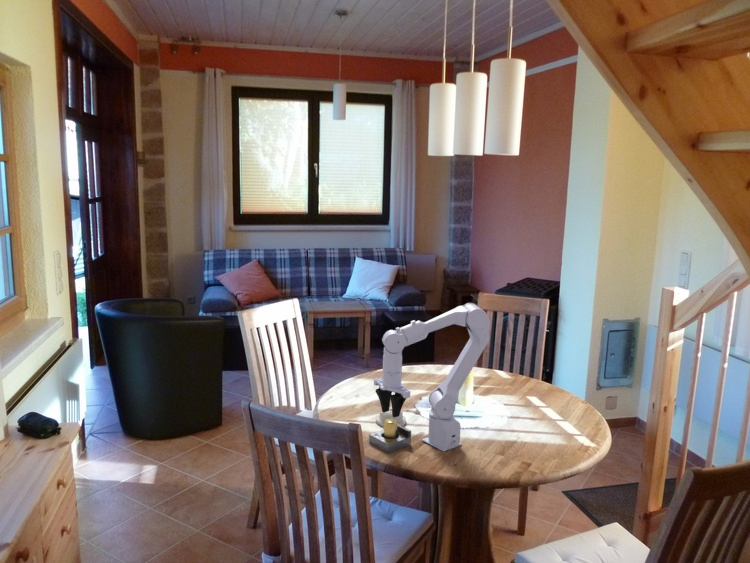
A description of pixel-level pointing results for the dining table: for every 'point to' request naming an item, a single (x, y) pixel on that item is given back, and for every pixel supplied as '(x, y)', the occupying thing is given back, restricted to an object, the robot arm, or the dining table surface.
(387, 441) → the jig
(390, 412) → the mechanical component
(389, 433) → the brass cylinder rod
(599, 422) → the dining table surface
